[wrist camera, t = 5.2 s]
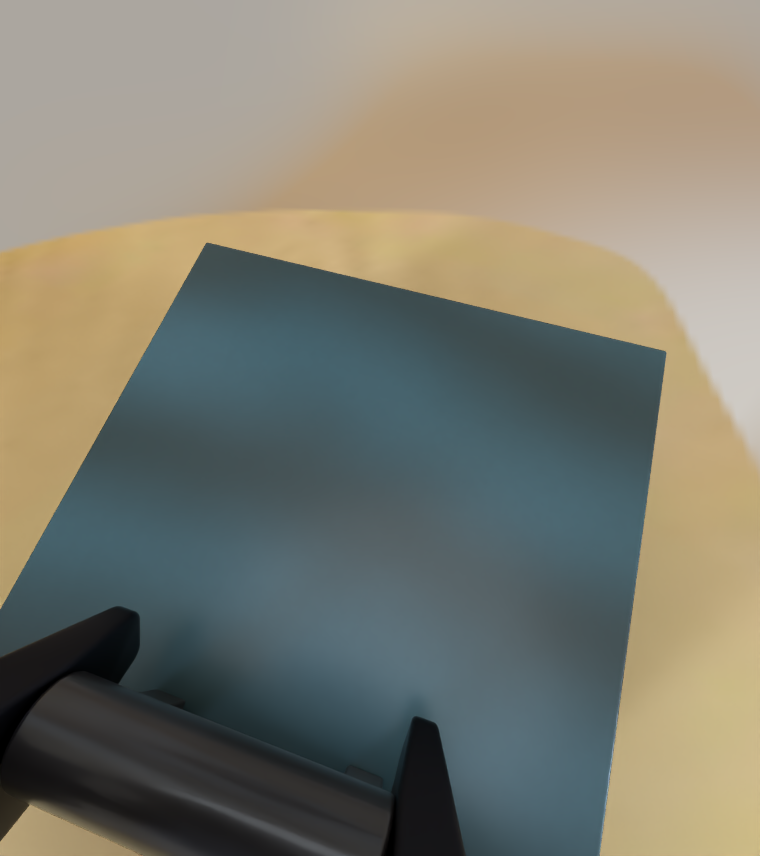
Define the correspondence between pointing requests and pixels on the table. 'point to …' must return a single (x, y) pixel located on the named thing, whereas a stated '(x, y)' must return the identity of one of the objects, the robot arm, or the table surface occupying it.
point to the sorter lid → (343, 572)
